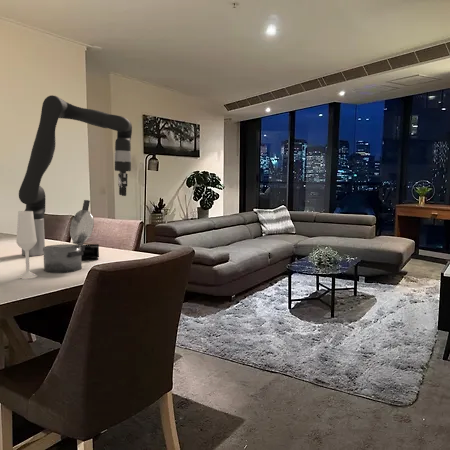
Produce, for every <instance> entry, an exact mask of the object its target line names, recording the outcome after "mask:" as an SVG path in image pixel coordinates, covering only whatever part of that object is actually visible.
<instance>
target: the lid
mask: <svg viewBox="0 0 450 450" xmlns="http://www.w3.org/2000/svg"><path fill="white" fill-rule="evenodd" d="M90 202H91V200H89V199H83V204H82V210H79V211H77V212H76V213H75V214H74V216H73V217H72V219H71V222H70V226H69V235H70V238H71V241H72V244H74V245H76V244H78V245H85V244H84V243H86V242H87V241H88V240H89V239H90V237H91V235H92V233H93V231H94V225H95V221H94V217H93V215H92V212H91V211H89V207H90Z"/></svg>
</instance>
